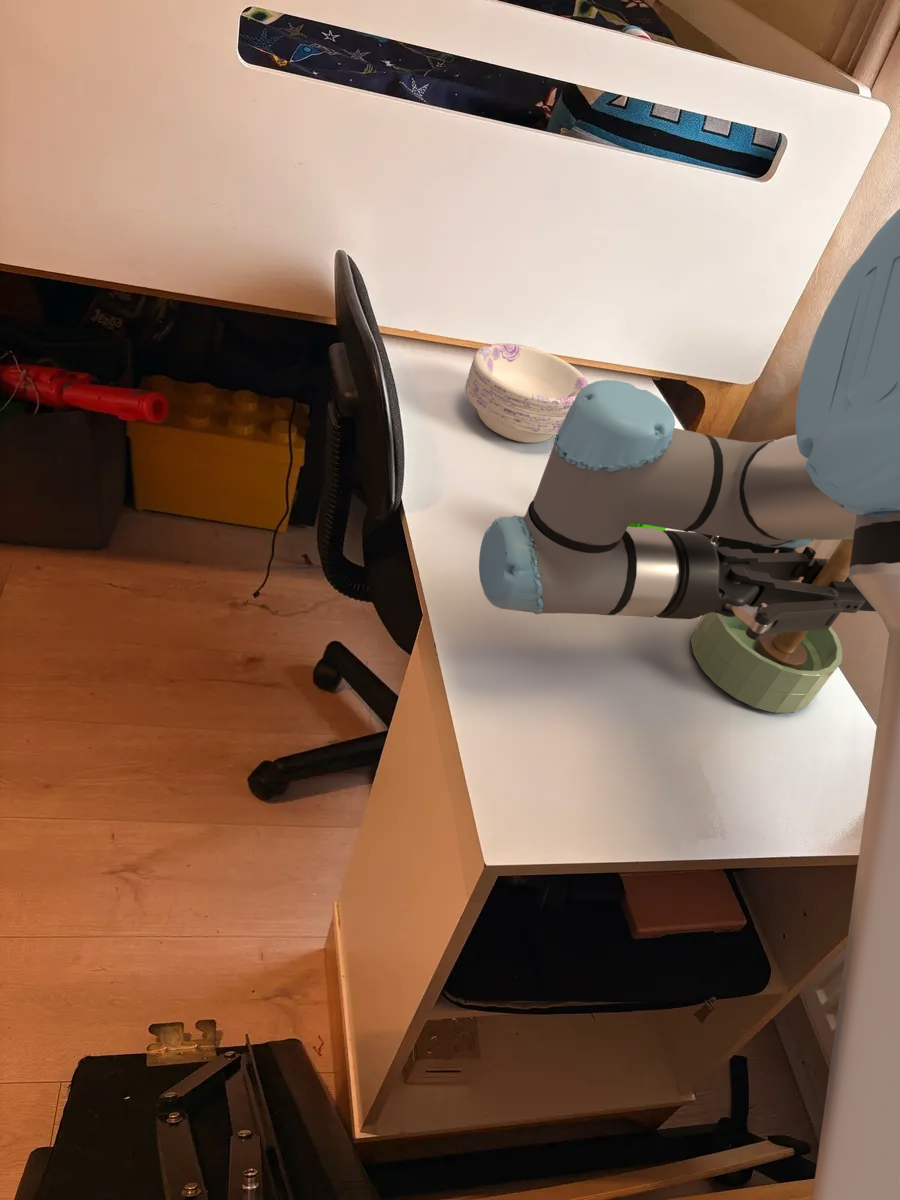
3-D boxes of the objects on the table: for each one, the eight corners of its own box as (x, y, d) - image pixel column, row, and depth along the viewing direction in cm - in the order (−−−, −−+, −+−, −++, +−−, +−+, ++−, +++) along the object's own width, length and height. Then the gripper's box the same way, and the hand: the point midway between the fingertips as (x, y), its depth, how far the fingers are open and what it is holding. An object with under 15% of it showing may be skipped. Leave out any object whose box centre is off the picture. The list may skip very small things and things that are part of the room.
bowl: (834, 717, 89) (867, 676, 86) (722, 716, 85) (752, 673, 81) (772, 624, 99) (800, 584, 95) (669, 619, 94) (693, 577, 90)
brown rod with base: (808, 675, 88) (913, 536, 77) (766, 674, 86) (867, 531, 75) (784, 639, 91) (881, 500, 80) (743, 637, 89) (836, 496, 78)
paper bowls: (482, 381, 124) (499, 328, 119) (582, 425, 122) (603, 373, 117) (440, 422, 113) (456, 365, 108) (549, 472, 110) (572, 416, 105)
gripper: (610, 550, 84) (812, 565, 92) (674, 669, 74) (896, 674, 81) (641, 485, 80) (852, 506, 87) (715, 602, 69) (947, 614, 77)
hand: (873, 587), depth 84 cm, fingers closed on brown rod with base, 2 cm apart
